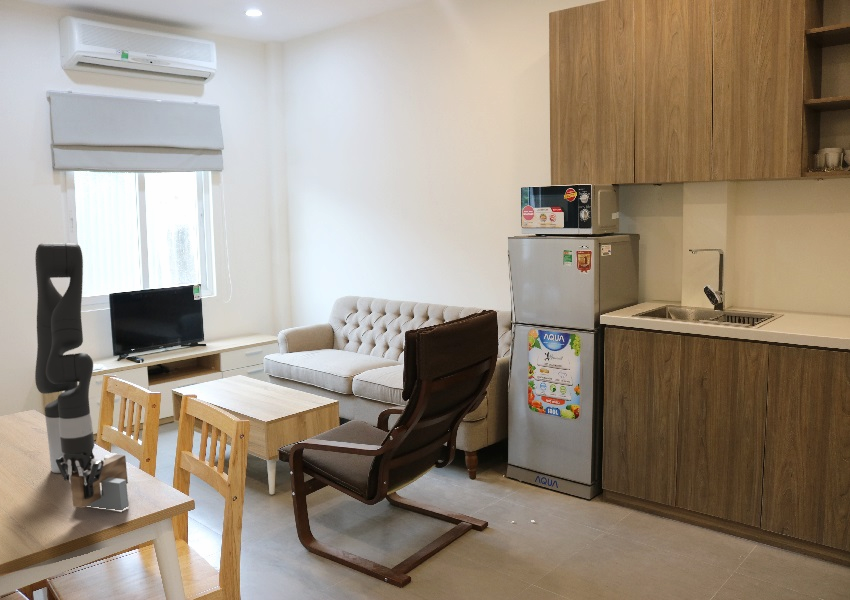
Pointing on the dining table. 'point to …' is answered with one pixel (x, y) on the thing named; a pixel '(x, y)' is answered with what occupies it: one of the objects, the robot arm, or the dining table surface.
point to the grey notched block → (112, 495)
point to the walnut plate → (111, 468)
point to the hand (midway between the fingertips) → (83, 496)
